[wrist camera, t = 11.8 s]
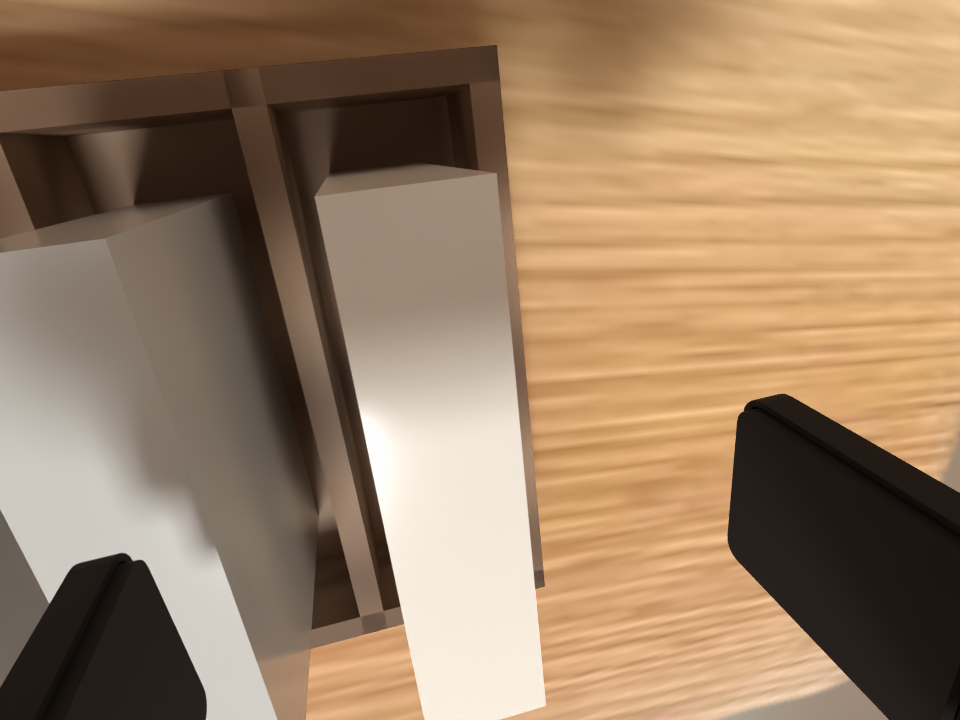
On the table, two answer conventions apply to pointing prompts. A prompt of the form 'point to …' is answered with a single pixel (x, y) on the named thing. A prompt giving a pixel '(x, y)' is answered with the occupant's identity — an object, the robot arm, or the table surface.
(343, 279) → the plate
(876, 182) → the table surface
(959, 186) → the table surface
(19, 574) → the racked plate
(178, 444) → the racked plate mid
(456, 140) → the rack
